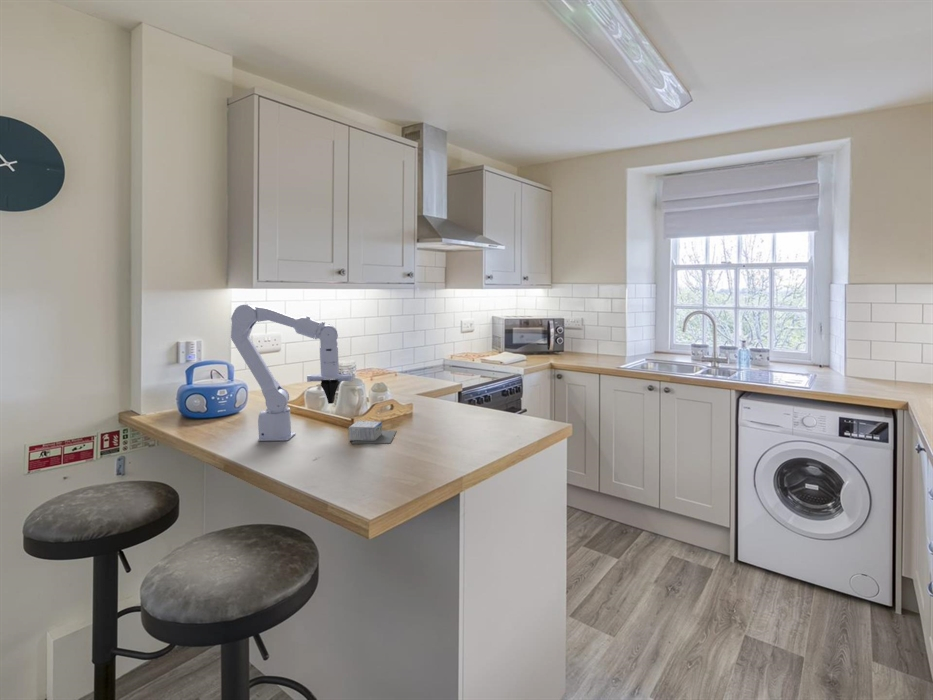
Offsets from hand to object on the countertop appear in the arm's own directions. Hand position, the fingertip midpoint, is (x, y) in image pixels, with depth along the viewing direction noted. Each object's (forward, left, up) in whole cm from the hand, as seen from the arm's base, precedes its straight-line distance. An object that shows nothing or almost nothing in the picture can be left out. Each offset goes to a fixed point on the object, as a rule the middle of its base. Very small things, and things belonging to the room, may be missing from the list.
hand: (331, 402), depth 169 cm
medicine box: (+8, -5, -8) cm, 12 cm away
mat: (+15, -5, -10) cm, 19 cm away
